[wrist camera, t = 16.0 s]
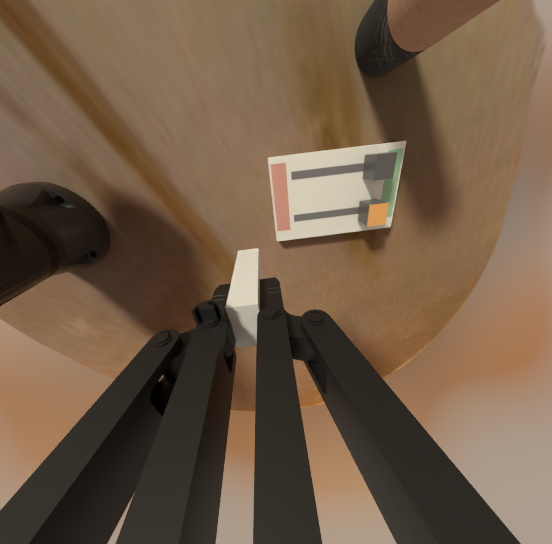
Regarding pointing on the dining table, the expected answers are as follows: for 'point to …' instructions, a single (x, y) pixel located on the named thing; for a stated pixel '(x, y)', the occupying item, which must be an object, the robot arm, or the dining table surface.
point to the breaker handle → (373, 212)
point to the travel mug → (408, 29)
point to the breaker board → (332, 188)
